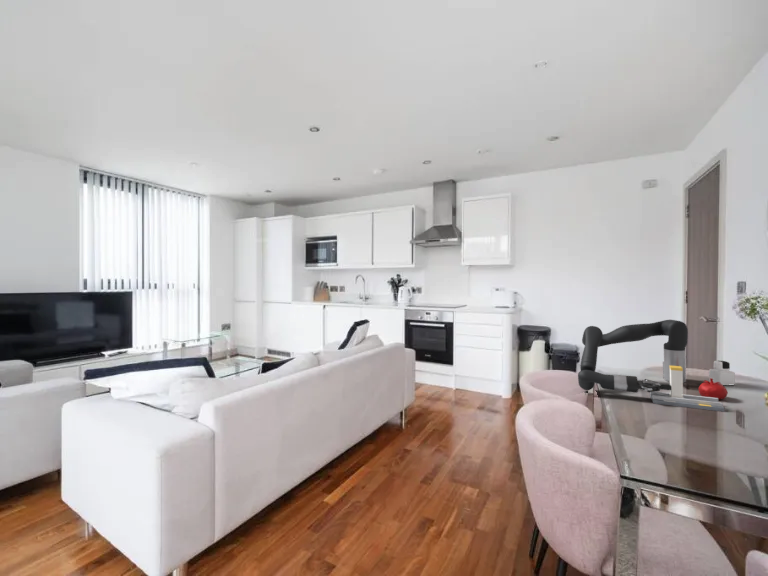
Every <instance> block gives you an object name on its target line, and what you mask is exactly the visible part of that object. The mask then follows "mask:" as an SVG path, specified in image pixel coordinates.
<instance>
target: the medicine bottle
mask: <svg viewBox="0 0 768 576" xmlns="http://www.w3.org/2000/svg"><path fill="white" fill-rule="evenodd" d="M730 364H731V363H730V362H728V361H726V360H714V361H713V368H709V369H708V374H709V375H708V377H709V378H708V379H709V380H708V382H710V378H712V379H713V383H716V382H720V383H721V385H729V384H735V385H736V374H735V373H736V372H735V371H732V370H731V369H730V368H731V366H730ZM718 384H719V383H718Z"/></svg>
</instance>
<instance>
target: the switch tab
mask: <svg viewBox="0 0 768 576" xmlns="http://www.w3.org/2000/svg"><path fill="white" fill-rule="evenodd" d="M669 368H670V381H669V385H671V390H669V392H668V393H669V397H676V398H684V397H683V394H684V385H683V384H684V383H683V368H682V367H681V366H670V365H669Z"/></svg>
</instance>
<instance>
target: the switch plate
mask: <svg viewBox="0 0 768 576" xmlns="http://www.w3.org/2000/svg"><path fill="white" fill-rule="evenodd" d="M669 393H670V392H663V391H655V392H649V397H650V399H651V401H652V403H653V404H657V405H664V406H665V405H666V406H675V407H681V408H682V407H683V408H689V409H690V408H691V409H698V410H708V411H714V412H715V411H716V412H723V413H725V407H724V403H723V402H720V401H719V400H718V398H712V397H703V396H701V395H692V394H685V393H683V397H684V398H676V397H669Z"/></svg>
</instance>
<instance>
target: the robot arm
mask: <svg viewBox="0 0 768 576" xmlns="http://www.w3.org/2000/svg"><path fill="white" fill-rule="evenodd" d="M688 329H689V328H688V326H687V324H686V323H685V322H683V321H681V320H676V319H664V320H660V321H656V322H650V323H637V324H636V323H635V324H627V325H621V326H620V327H618V328H615V329H613V330H612V331H609V332H607V333H604V332H603V331H602V330H601V328H599V327H598V326H594V325H590V326H587V327H586V328H585V329H584V331H583V334H582V339H581V342H582V344H583V346H584V348H583V352H582V356H581V359H580V360H581V361H580V365H579V367H580V371H579V372H578V373H577V380H578V385H579V388H581V390H585V391H590V390H592V389H593V388H594V387H595V384H598V385H599V386H600V388H601V389H605V390H612V391H613V390H614V391H619V392H628V393H638V392H639V390H642V391H646V392H648V393H650V392H655V391H656V392H661V390H662V391H663V390H665V391H670V390H671V385H670V384H667V383H666V384H665V383H660V382H658V381H655V380H650V379H647V378H645V379H642V380H638V376H635V375H626V374H625V375H624V374H623V375H622V374H616V375H615V374H604V373H601V372H598V371H596V369H597V362H598V361H597V360H598V350H599V348H600V347H604V346H605V347H606V346H609V345H610V346H611V345H613V344H614V345H615V344H616V345H617V344H621V343H623V344H624V343H630V342H631V343H633V342H639V341H644V340H647V339H648V338H651V337H658V336H666V337H668V338H667V339H668V341H667V342H665V343H664V344H663V361H662V379H664V380H665V381H667V382H670V368H669V365H670V366H681V367H682V368H683V384H684V383H687V378H686V377H687V372H686V371H687V363H686V348H687V346H688V339H689V338H688V337H689V336H688V334H689V333H688Z"/></svg>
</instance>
